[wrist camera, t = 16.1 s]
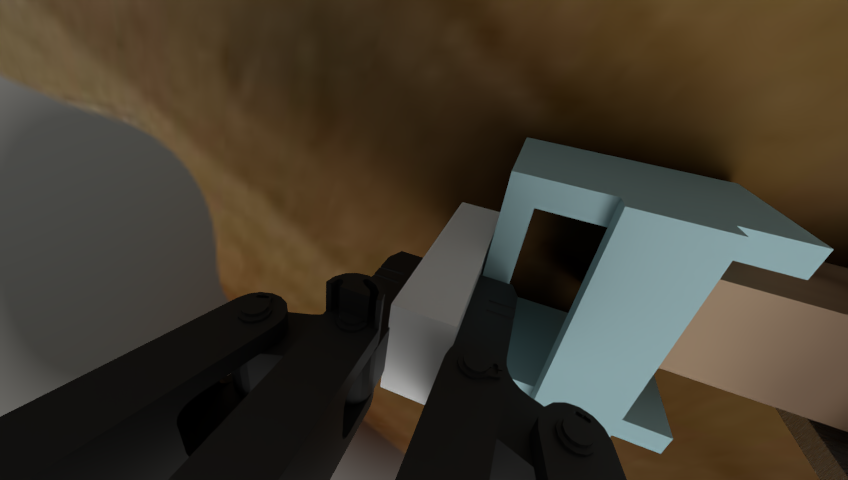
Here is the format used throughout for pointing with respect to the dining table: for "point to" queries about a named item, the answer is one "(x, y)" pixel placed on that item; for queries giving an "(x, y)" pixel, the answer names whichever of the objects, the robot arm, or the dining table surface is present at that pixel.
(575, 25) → the dining table surface
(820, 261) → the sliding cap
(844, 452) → the end cap
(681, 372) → the batten
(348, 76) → the dining table surface
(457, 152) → the dining table surface
